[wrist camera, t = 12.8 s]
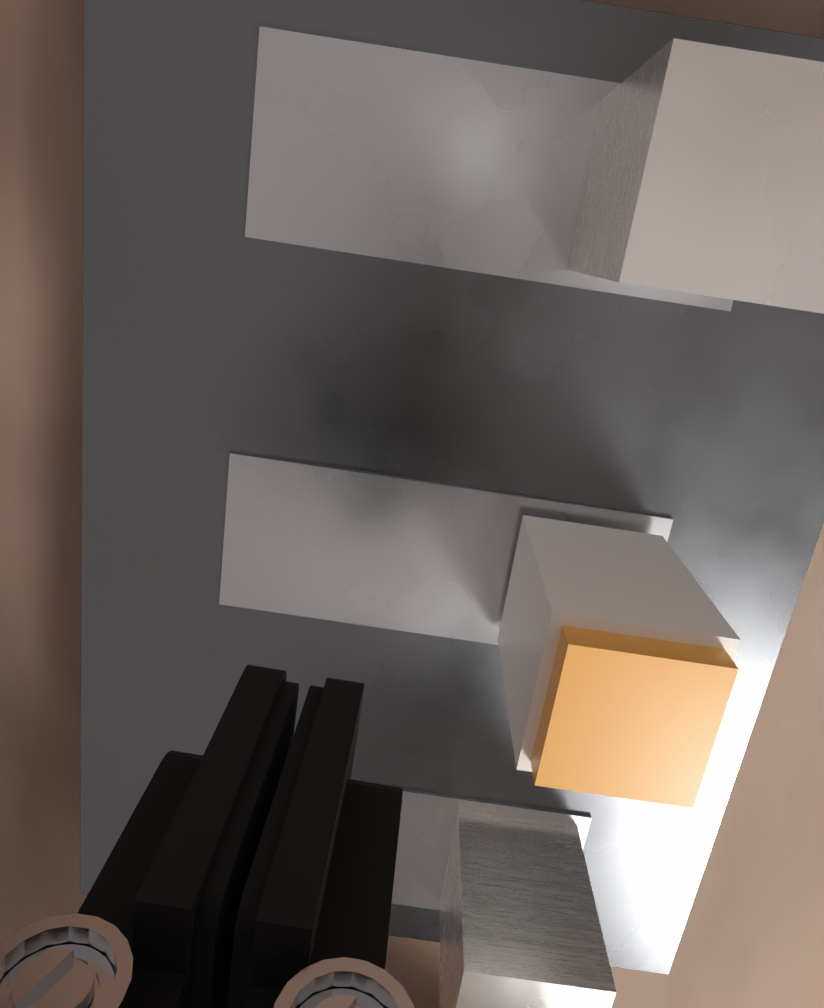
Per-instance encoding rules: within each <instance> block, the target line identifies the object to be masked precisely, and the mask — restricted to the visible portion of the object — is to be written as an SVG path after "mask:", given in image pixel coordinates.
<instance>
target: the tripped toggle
mask: <svg viewBox="0 0 824 1008" xmlns="http://www.w3.org/2000/svg"><path fill="white" fill-rule="evenodd" d="M740 641H741V639H740V638H739V637H738V635H737V634H736V633H735V631H734V630H733V629H732V628H731V626H730V625H729V624H728V622H727V621H726V620H725V618H724V617H723V616H722V614H721V613H720V612H719V610H718V609H717V608H716V606H715V605H714V604H713V602H712V601H711V600H710V598H709V597H708V596H707V594H706V593H705V592H704V590H703V589H702V588H701V586H700V585H699V584H698V582H697V581H696V580H695V578H694V577H693V576H692V574H691V573H690V572H689V570H688V569H687V568H686V566H685V565H684V564H683V562H682V561H681V560H680V558H679V557H678V556H677V554H676V553H675V552H674V550H673V549H672V548H671V546H670V545H669V544H668V542H667V541H666V540H665V538H664V537H663V536H661V535H654V534H648V533H641V532H634V531H627V530H621V529H614V528H607V527H600V526H594V525H587V524H580V523H573V522H567V521H560V520H553V519H547V518H540V517H533V516H526V515H523V517H522V522H521V527H520V532H519V537H518V542H517V547H516V551H515V556H514V561H513V566H512V571H511V576H510V581H509V586H508V590H507V595H506V600H505V605H504V610H503V615H502V620H501V625H500V629H499V634H498V646H499V653H500V660H501V667H502V674H503V681H504V688H505V694H506V701H507V708H508V715H509V722H510V729H511V736H512V743H513V749H514V756H515V763H516V770H522V771H529V772H532V774H533V779H534V785H535V786H542V787H549V788H556V789H563V790H570V791H577V792H584V793H591V794H598V795H605V796H611V797H618V798H625V799H632V800H639V801H646V802H653V803H660V804H667V805H674V806H681V807H688V808H694V805H695V802H696V798H697V795H698V792H699V789H700V786H701V783H702V780H703V777H704V774H705V771H706V768H707V765H708V762H709V759H710V755H711V752H712V749H713V746H714V743H715V740H716V737H717V734H718V731H719V728H720V725H721V722H722V719H723V716H724V713H725V709H726V706H727V703H728V700H729V697H730V694H731V691H732V688H733V685H734V682H735V679H736V676H737V673H738V670H739V669H738V667H737V666H736V665H735V663H734V659H735V656H736V653H737V650H738V647H739V644H740Z"/></svg>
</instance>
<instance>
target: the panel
mask: <svg viewBox="0 0 824 1008" xmlns="http://www.w3.org/2000/svg"><path fill="white" fill-rule="evenodd" d="M523 515H526V516H533V517H540V518H547V519H553V520H560V521H567V522H573V523H580V524H587V525H594V526H600V527H607V528H614V529H621V530H627V531H634V532H641V533H648V534H654V535H661V536H663V537H664V538H665V540H666V541H667V542H668V544H669V545H670V546H671V548H672V549H673V550H674V552H675V553H676V554H677V556H678V557H679V558H680V560H681V561H682V562H683V564H684V565H685V566H686V568H687V569H688V570H689V572H690V573H691V574H692V576H693V577H694V578H695V580H696V581H697V582H698V584H699V585H700V586H701V588H702V589H703V590H704V592H705V593H706V594H707V596H708V597H709V598H710V600H711V601H712V602H713V604H714V605H715V606H716V608H717V609H718V610H719V612H720V613H721V614H722V616H723V617H724V618H725V620H726V621H727V622H728V624H729V625H730V626H731V628H732V629H733V630H734V631H735V633H736V634H737V635H738V637H739V638H740V639H741V641H740V644H739V647H738V650H737V653H736V656H735V659H734V663H735V665H736V666H737V667H738V669H739V670H738V673H737V676H736V679H735V682H734V685H733V688H732V691H731V694H730V697H729V700H728V703H727V706H726V709H725V713H724V716H723V719H722V722H721V725H720V728H719V731H718V734H717V737H716V740H715V743H714V746H713V749H712V752H711V755H710V759H709V762H708V765H707V768H706V771H705V774H704V777H703V780H702V783H701V786H700V789H699V792H698V795H697V798H696V802H695V805H694V808H688V807H681V806H674V805H667V804H660V803H653V802H646V801H639V800H632V799H625V798H618V797H611V796H605V795H598V794H591V793H584V792H577V791H570V790H563V789H556V788H549V787H542V786H535V785H534V779H533V774H532V772H529V771H522V770H516V763H515V756H514V749H513V743H512V736H511V729H510V722H509V715H508V708H507V701H506V694H505V688H504V681H503V674H502V667H501V660H500V653H499V646H498V634H499V629H500V625H501V620H502V615H503V610H504V605H505V600H506V595H507V590H508V586H509V581H510V576H511V571H512V566H513V561H514V556H515V551H516V547H517V542H518V537H519V532H520V527H521V522H522V517H523ZM823 522H824V39H823V38H816V37H810V36H804V35H797V34H791V33H785V32H779V31H772V30H766V29H760V28H753V27H747V26H741V25H735V24H728V23H722V22H716V21H709V20H703V19H697V18H691V17H684V16H678V15H672V14H666V13H659V12H653V11H647V10H640V9H634V8H628V7H622V6H615V5H609V4H603V3H596V2H590V1H584V0H84V125H83V348H82V570H81V793H80V892H83V893H89V892H90V890H91V888H92V886H93V884H94V883H95V881H96V879H97V877H98V875H99V873H100V872H101V870H102V868H103V866H104V864H105V862H106V861H107V859H108V857H109V855H110V853H111V852H112V850H113V848H114V846H115V844H116V842H117V841H118V839H119V837H120V835H121V833H122V832H123V830H124V828H125V826H126V824H127V822H128V821H129V819H130V817H131V815H132V813H133V812H134V810H135V808H136V806H137V804H138V802H139V801H140V799H141V797H142V795H143V793H144V792H145V790H146V788H147V786H148V784H149V782H150V781H151V779H152V777H153V775H154V773H155V772H156V770H157V768H158V766H159V764H160V762H161V761H162V759H163V758H164V756H165V755H166V753H168V752H169V751H171V750H173V751H179V752H185V753H191V754H197V755H203V754H204V752H205V750H206V748H207V746H208V744H209V742H210V740H211V738H212V736H213V734H214V731H215V729H216V727H217V725H218V723H219V721H220V719H221V717H222V715H223V713H224V711H225V709H226V706H227V704H228V702H229V700H230V698H231V696H232V694H233V692H234V690H235V688H236V686H237V683H238V681H239V679H240V677H241V675H242V673H243V671H244V669H245V667H246V666H247V665H255V666H261V667H267V668H273V669H279V670H286V674H287V679H286V681H288V682H294V683H299V694H298V703H297V712H296V721H295V730H296V727H297V724H298V720H299V717H300V714H301V711H302V708H303V705H304V702H305V699H306V696H307V693H308V690H309V687H310V685H313V686H319V687H324V685H325V681H326V679H327V677H329V678H335V679H341V680H347V681H354V682H360V683H365V686H364V694H363V701H362V707H361V714H360V721H359V728H358V734H357V741H356V748H355V755H354V761H353V768H352V775H351V780H357V781H364V782H370V783H376V784H382V785H388V786H394V787H400V788H403V796H402V807H401V816H400V826H399V836H398V845H397V855H396V865H395V874H394V884H393V894H392V903H391V913H390V923H389V932H388V935H391V936H398V937H406V938H413V939H420V940H427V941H434V942H440V1008H611V1007H612V1004H613V1001H614V998H615V995H616V989H615V985H614V981H613V976H612V972H611V968H610V966H613V967H620V968H628V969H635V970H642V971H649V972H656V973H663V974H669V971H670V968H671V965H672V963H673V960H674V957H675V954H676V951H677V948H678V945H679V942H680V939H681V936H682V933H683V930H684V928H685V925H686V922H687V919H688V916H689V913H690V910H691V907H692V904H693V901H694V898H695V895H696V893H697V890H698V887H699V884H700V881H701V878H702V875H703V872H704V869H705V866H706V863H707V860H708V858H709V855H710V852H711V849H712V846H713V843H714V840H715V837H716V834H717V831H718V828H719V825H720V823H721V820H722V817H723V814H724V811H725V808H726V805H727V802H728V799H729V796H730V793H731V790H732V787H733V785H734V782H735V779H736V776H737V773H738V770H739V767H740V764H741V761H742V758H743V755H744V752H745V750H746V747H747V744H748V741H749V738H750V735H751V732H752V729H753V726H754V723H755V720H756V717H757V715H758V712H759V709H760V706H761V703H762V700H763V697H764V694H765V691H766V688H767V685H768V682H769V680H770V677H771V674H772V671H773V668H774V665H775V662H776V659H777V656H778V653H779V650H780V647H781V645H782V642H783V639H784V636H785V633H786V630H787V627H788V624H789V621H790V618H791V615H792V612H793V610H794V607H795V604H796V601H797V598H798V595H799V592H800V589H801V586H802V583H803V580H804V577H805V575H806V572H807V569H808V566H809V563H810V560H811V557H812V554H813V551H814V548H815V545H816V542H817V540H818V537H819V534H820V531H821V528H822V525H823ZM295 730H294V733H295Z"/></svg>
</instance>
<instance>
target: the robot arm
mask: <svg viewBox="0 0 824 1008" xmlns="http://www.w3.org/2000/svg"><path fill="white" fill-rule="evenodd" d="M286 679H287V674H286V670H279V669H273V668H267V667H261V666H255V665H247V666H246V667H245V669H244V671H243V673H242V675H241V677H240V679H239V681H238V683H237V686H236V688H235V690H234V692H233V694H232V696H231V698H230V700H229V702H228V704H227V706H226V709H225V711H224V713H223V715H222V717H221V719H220V721H219V723H218V725H217V727H216V729H215V731H214V734H213V736H212V738H211V740H210V742H209V744H208V746H207V748H206V750H205V752H204V754H203V755H197V754H191V753H185V752H179V751H173V750H171V751H169V752H168V753H166V755H165V756H164V758H163V759H162V761H161V762H160V764H159V766H158V768H157V770H156V772H155V773H154V775H153V777H152V779H151V781H150V782H149V784H148V786H147V788H146V790H145V792H144V793H143V795H142V797H141V799H140V801H139V802H138V804H137V806H136V808H135V810H134V812H133V813H132V815H131V817H130V819H129V821H128V822H127V824H126V826H125V828H124V830H123V832H122V833H121V835H120V837H119V839H118V841H117V842H116V844H115V846H114V848H113V850H112V852H111V853H110V855H109V857H108V859H107V861H106V862H105V864H104V866H103V868H102V870H101V872H100V873H99V875H98V877H97V879H96V881H95V883H94V884H93V886H92V888H91V890H90V892H89V893H88V895H87V897H86V899H85V901H84V903H83V904H82V906H81V908H80V910H79V912H78V913H75V914H65V915H56V916H51V917H48V918H45V919H42V920H39V921H36V922H34V923H31V924H28V925H27V926H25V927H23V928H22V929H20V930H18V931H17V932H15V933H13V934H12V935H10V936H9V937H7V938H6V939H5V940H4V941H3V942H1V943H0V1008H414V1004H413V1003H412V1001H411V999H410V998H409V996H408V994H407V993H406V991H405V989H404V988H403V986H402V985H401V984H400V983H399V982H398V981H397V980H396V979H395V978H394V977H392V976H391V975H390V974H389V973H388V972H387V971H386V970H385V961H386V952H387V942H388V932H389V923H390V913H391V903H392V894H393V884H394V874H395V865H396V855H397V845H398V836H399V826H400V816H401V807H402V796H403V788H400V787H394V786H388V785H382V784H376V783H370V782H364V781H357V780H351V775H352V768H353V761H354V755H355V748H356V741H357V734H358V728H359V721H360V714H361V707H362V701H363V694H364V686H365V683H360V682H354V681H347V680H341V679H335V678H329V677H327V679H326V681H325V685H324V687H319V686H313V685H310V687H309V690H308V693H307V696H306V699H305V702H304V705H303V708H302V711H301V714H300V717H299V720H298V724H297V727H296V730H295V721H296V712H297V703H298V694H299V683H294V682H288V681H286ZM294 730H295V733H294Z"/></svg>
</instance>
